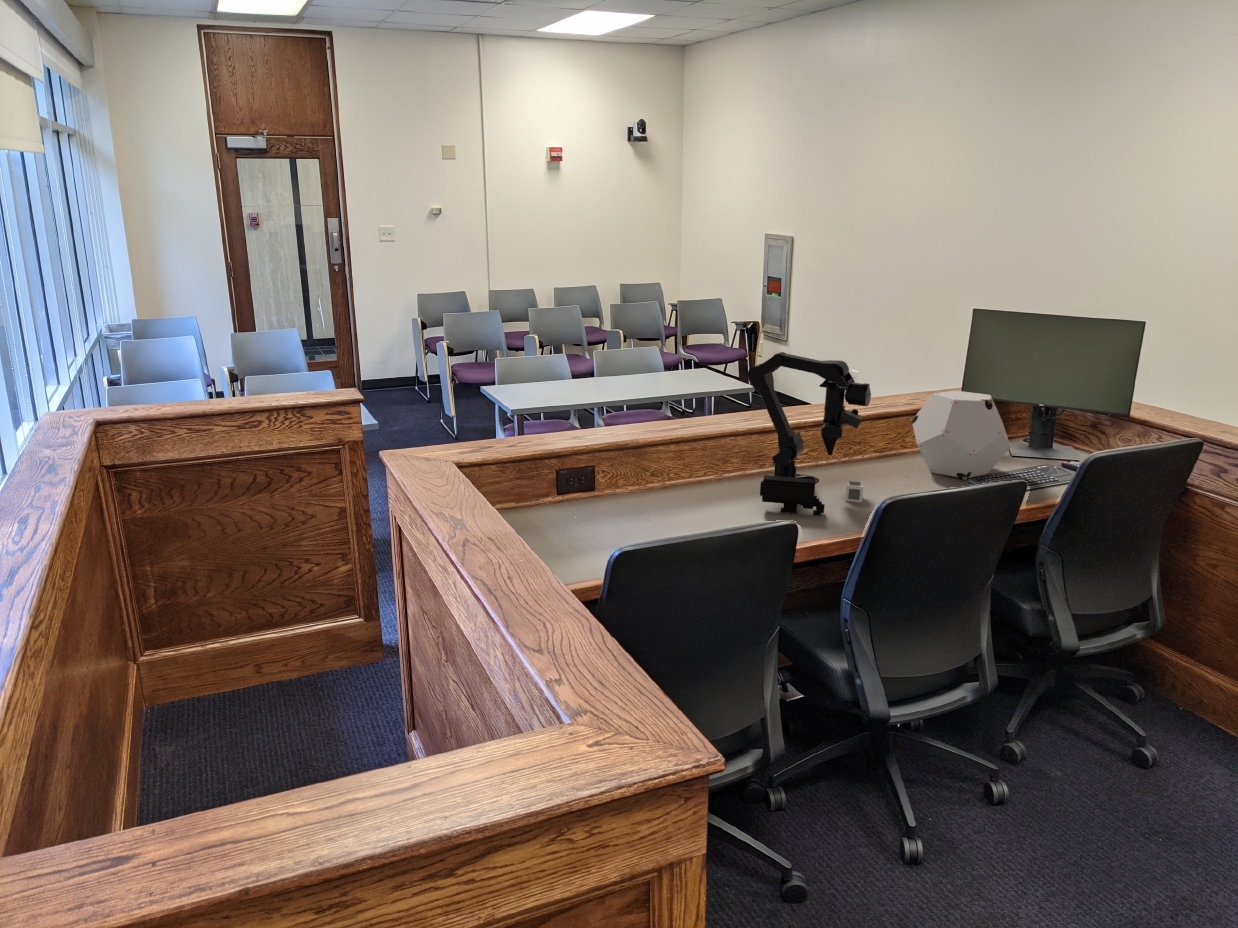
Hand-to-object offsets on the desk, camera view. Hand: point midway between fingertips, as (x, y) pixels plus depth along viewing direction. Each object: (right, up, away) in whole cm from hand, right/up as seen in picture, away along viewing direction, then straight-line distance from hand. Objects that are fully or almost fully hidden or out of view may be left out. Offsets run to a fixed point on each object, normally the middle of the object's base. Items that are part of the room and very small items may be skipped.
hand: (830, 451), depth 273 cm
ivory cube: (+5, -15, -7) cm, 17 cm away
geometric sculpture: (+47, -7, +21) cm, 52 cm away
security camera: (-16, -18, -18) cm, 30 cm away
